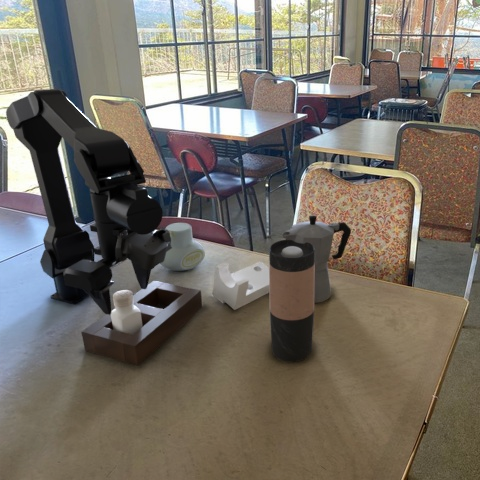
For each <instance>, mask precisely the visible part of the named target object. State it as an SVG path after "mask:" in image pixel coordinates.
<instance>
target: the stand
mask: <svg viewBox="0 0 480 480" xmlns="http://www.w3.org/2000/svg"><path fill="white" fill-rule="evenodd" d="M202 299H203V298H202V290H201V289H195V288H191V287H187V286H183V285H182V286H181V285H176V284H172V283H167V282H162V281H158V280H153V281H151V282H150V283H148V286H147V289H141V288H140V290H138V291H137V292H136V293H134V294H133V300H134V303H133V304H134V306H136V307H137V308H138V309H139V310H140V312H141V319H142V325H143V327H142V328H140V329H139V330H138V331H137V332H136V333H134V334H133V335H132V334H128V333H124V332H120V331H116V330H113V325H112V319H111V314H110V315H108V314H104V315H103V316H101V317H100V318H99V319H97V320H96V321H94V322H92V323H91V324H90V325H88V326H87V327H86V328H84V329H83V330H82V331H81V337H82V342H83V347H84V351H85V352H87V353H88V352H89V353H92V354H96V355H98V356H102V357H106V358H110V359H113V360H117V361H121V362H123V363H127V364H131V365H135V366H140V364H142V363H143V362H144V361H145V360H146V359H147V358H148V357H150V356H151V355H152V354H153V352H155V351H156V350H157V349H158V348H160V346H161V345H163V344H164V343H165V342H166V341H167V340H168V339H169V338H170V337H171V336H172V335H174V334H175V333H176V332H177V331H178V330H179V329H180V328H181V327H182V326H183V325H185V324H186V323H187V322H188V321H189V320H190V319H191V318H192V317H193V316H195V315H196V314H197V313H198V312H199V311H201V309H202V308H203V301H202ZM158 306H162V307H165V308H164V309H163V308H159V307H158ZM114 309H115V307H114V308H113V309H111V311H112V310H114Z"/></svg>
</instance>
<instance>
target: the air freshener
mask: <svg viewBox="0 0 480 480" xmlns="http://www.w3.org/2000/svg"><path fill="white" fill-rule="evenodd" d="M165 229H166V230H168V231H169V232H170V237H171V244H170V245H171V246H172V249H170V250H169V251H167V252H166V256H165V260H164V262H162V263H159V265H160V266H162V267H163V268H165V269H167V270H170V271H176V272H177V271H178V272H180V271H181V272H183V271H189V270H193V268H195V267H197V266H198V265H200V264H201V263H202V261H203V260H204V258H205V255H206V254H205V253H206V252H205V248H204V246H203V245H202V244H201V243H200V242H198V241H196V240H194V239H193V229H192V225H191V224H189V223H186V222H175V223H170V224H168V225H167V226H166V227H165Z"/></svg>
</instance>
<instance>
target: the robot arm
mask: <svg viewBox="0 0 480 480" xmlns="http://www.w3.org/2000/svg"><path fill="white" fill-rule="evenodd" d="M5 116H6V119H7V123H8V125H9V127H10V128H11V129H12V131H13V133H14V136H15V138H16V139H17V140H18V141H19V142H20V143H21V144H22V145H23V146H24V147H25V148H26V149H27V150H28V151H29V154H30V157H31V158H30V159H31V162H32V165H33V169H34V173H35V177H36V181H37V185H38V188H39V192H40V196H41V200H42V204H43V207H44V212H45V215H46V219H47V223H48V226H47V229H46V232H45V234H44V236H43V239H42V240H43V246H44V250H43V253H42V256H41V258H40V261H39V263H40V266H41V269H42V271H43V272H44V274H46V275H47V276H49V277H50V278H51V279H53V283H54V288H55V292H54V293H53V294H51V295H50V299H51V300H56V301H60V302H64V303H67V304H72V305H74V304H77V303H79V302H81V301H83V300H84V299H86V298H87V297H88V296H89V297H90V299H92V300H93V302H94V303H95V304H96V305H97V306H98V307H99V309H100V310H101V311H102V313H103V314H104V315H106V314H108V315H110V314H111V310H112V301H111V293H110V292H111V291H110V288H111V287H112V286H113V285H114V284H115V281H112V278H113V271H112V269H114V268H115V267H117V266H118V265H120V264H122V263H124V262H126V261H127V260H129V261H130V263H131V265H132V268H133V271H134V275H135V277H136V280H137V283H138V286H139V287H140V290H141V289H147V286H148V284H149V281H150V278H151V273H152V270H153V269H155V267H156V266H158V265H160V263H162V262H164V260H165V256H166V252H167V251H169V250H170V249H172V246H171V245H170V244H171V237H170V232H169V231H168V230H166V228H164V227H161V228H160V229H158V227H159V226H160V224H161V222H162V220H163V215H164V213H163V208H162V206H161V204H160V202H159V201H158V200H156V199H155V198H153V197H152V196H149V192H148V189H147V188H146V187H143V186H138V185H142V184H146V183H147V179H146V177H145V174H144V173H145V170H144V168H143V167H142V166H141V163H140V162H139V160H138V159H137V157H136V155H135V154H134V152H133V150H132V148H131V146H130V145H129V144H128V142H127V141H126V140H125V139H124V138H122V137H121V136H120V135H118V134H116V133H115V132H114V131H110V130H108V129H107V130H106V129H102V128H99V127H97V126H96V125H95V124H94V123H93V122H92V121H91V120H90V119H89V118H88V117H87V116H86V115H85V114H84V113H82V111H81V110H80V109H79V108H78V107H76V106H75V104H74V103H73V102H72V101H71V100H69V98H68V95H67V93H66V92H65V90H63V89H59V88H47V89H35V90H33V91H30V92H29V93H28V95H26V96H23V97H21V98H19V99H17V100H14V101H12V102H11V103H10V104H9V106H8V107H7V108H6V111H5ZM62 140H64V141H65V142H66V143H67V144H68V145H69V146H70V148H72V150H73V157H74V158H73V161H74V164H75V166H76V169H77V171H78V172H79V173H80V175H81V176H82V178H83V180H84V184H85V186H86V187H88V188H89V195H90V200H91V206H92V210H93V211H92V213H93V218H94V223H91V224H90V225H89V229H90V232H92V233H96V235H97V240H98V246H96V247H95V244H94V243H93V241H92V240H91V237H90V233H89V232H88V231H87V230H85V229H84V228H82V226H80V224H78V223H77V221H76V217H75V213H74V209H73V205H72V202H71V197H70V193H69V189H68V188H69V187H68V185H67V180H66V175H65V172H64V168H63V164H62V161H61V156H60V155H61V154H60V151H59V147H60V144H61V142H62ZM128 172H129V173H128ZM114 176H115V177H114ZM157 229H158V230H157ZM95 255H98V256H101V258H102V259H99V260H98V261H96V260H95Z"/></svg>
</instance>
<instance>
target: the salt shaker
mask: <svg viewBox="0 0 480 480" xmlns="http://www.w3.org/2000/svg"><path fill="white" fill-rule="evenodd" d="M133 295H134V294H133V291H132V290H130V289H122V290H118V291H116V292H114V293H113V295H112V300H113V305H114V308H115V309H114V308H113V309H114V310H113V309H111V310H112V311H111V319H112V325H113V330H116V331H120V332H124V333H128V334H132V335H133V334H134V333H136V332H137V331H138V330H139V329H140V328H142V327H143V325H142V319H141V312H140V310H139V309H138V308H137V307H136V306H134V304H133V303H134V300H133Z"/></svg>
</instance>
